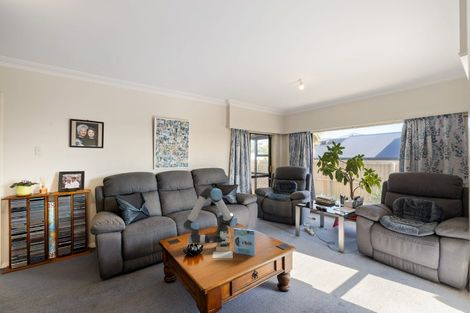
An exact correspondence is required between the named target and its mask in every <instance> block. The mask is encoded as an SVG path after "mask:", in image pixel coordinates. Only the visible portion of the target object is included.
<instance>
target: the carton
mask: <svg viewBox="0 0 470 313" xmlns="http://www.w3.org/2000/svg"><path fill="white" fill-rule="evenodd" d="M215 247H216V248H215V252H231V241H229V242H227V247H220V243H216V246H215Z"/></svg>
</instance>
